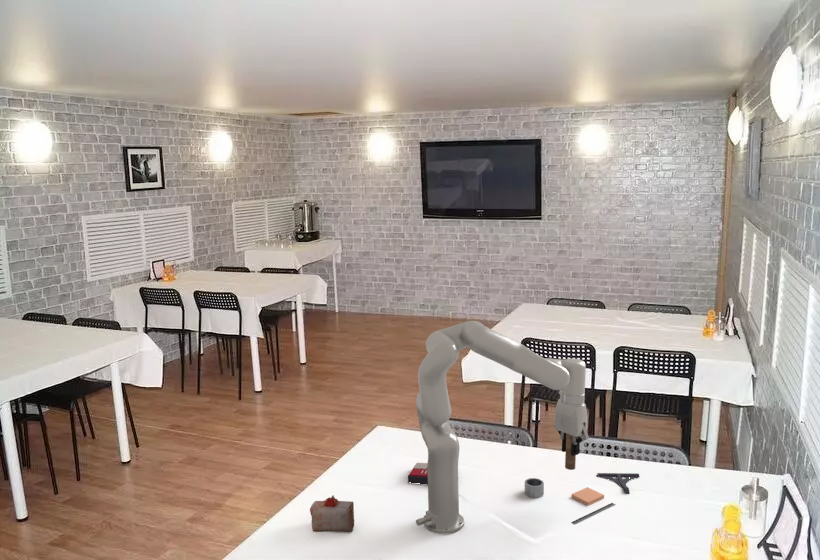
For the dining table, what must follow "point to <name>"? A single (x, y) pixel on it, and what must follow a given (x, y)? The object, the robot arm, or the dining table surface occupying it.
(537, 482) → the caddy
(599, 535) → the dining table surface
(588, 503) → the tile
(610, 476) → the bracket
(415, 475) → the calculator
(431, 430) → the robot arm
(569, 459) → the rod
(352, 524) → the food item
